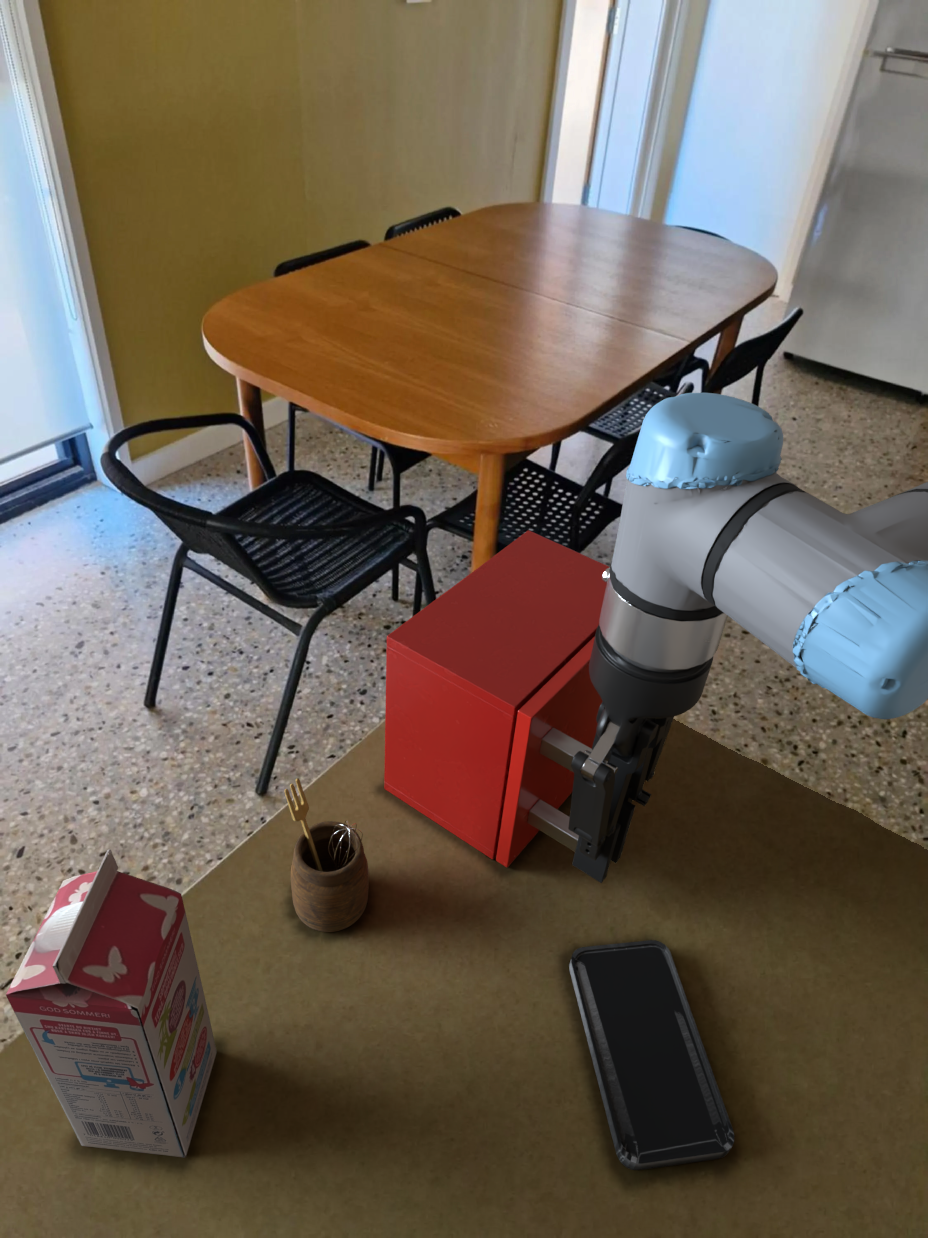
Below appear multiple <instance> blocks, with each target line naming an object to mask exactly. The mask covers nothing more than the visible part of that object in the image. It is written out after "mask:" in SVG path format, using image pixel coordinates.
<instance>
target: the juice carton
mask: <svg viewBox="0 0 928 1238" xmlns="http://www.w3.org/2000/svg"><path fill="white" fill-rule="evenodd" d="M118 870H119V866H118V863H117V861H116V858H115V856H114V854H113V851H112V850H111V849H110V848H109V849H107V850H106V852H105V855H104V857H103V859H102V860H101V863H100V865H99V867H98V869H97V870H96V871H93V872H88V873H83V874H79V875H74V876H71V877H70V878H66V879H64V880H62V882H61V885H60V886H59V888H58V890H57V892H56V894H55V896H54V898H53V900H52V901H51V903H50V906H49V907H48V910H47V912H46V914H45V916H44V918H43V920H42V922H41V924H40V925H39V928H38V930H37V932H36V933H35V935H34V938H33V940H32V942H31V943H30V945H29V948H28V949H27V951H26V953H25V955H24V957H23V960H22V962H21V963H20V965H19V967H18V969H17V971H16V974H15V975H14V977H13V979H12V981H11V984H10V985H9V987H8V989H7V991H6V994H5V996H6V999H7V1000H8V1003H9V1005H10V1007H11V1009H12V1010H13V1013H14V1014H15V1017H16V1019H17V1020H18V1023H19V1024H20V1027H21V1028H22V1030H23V1032H24V1034H25V1036H26V1038H27V1040H28V1042H29V1044H30V1046H31V1048H32V1050H33V1052H34V1054H35V1057H36V1058H37V1060H38V1062H39V1065H40V1067H41V1068H42V1070H43V1072H44V1074H45V1077H46V1079H47V1080H48V1082H49V1084H50V1087H51V1088H52V1090H53V1092H54V1094H55V1096H56V1098H57V1100H58V1102H59V1104H60V1106H61V1108H62V1110H63V1112H64V1114H65V1116H66V1118H67V1120H68V1122H69V1123H70V1126H71V1129H72V1130H73V1132H74V1134H75V1136H76V1138H77V1140H78V1142H79V1143H80V1146H82V1147H89V1148H99V1149H106V1150H107V1149H108V1150H115V1151H124V1152H125V1151H126V1152H133V1153H141V1154H142V1153H143V1154H151V1155H159V1156H168V1157H169V1156H170V1157H178V1158H187V1154H188V1152H189V1148H190V1145H191V1140H192V1137H193V1134H194V1131H195V1127H196V1124H197V1121H198V1117H199V1113H200V1110H201V1107H202V1103H203V1100H204V1097H205V1093H206V1090H207V1086H208V1083H209V1080H210V1077H211V1073H212V1069H213V1066H214V1063H215V1061H216V1060H215V1059H216V1056H217V1053H218V1051H217V1047H216V1042H215V1037H214V1032H213V1028H212V1023H211V1018H210V1014H209V1009H208V1005H207V1001H206V996H205V992H204V988H203V987H204V986H203V982H202V979H201V975H200V970H199V966H198V960H197V958H196V952H195V948H194V943H193V939H192V935H191V930H190V927H189V922H188V921H189V920H188V918H187V913H186V908H185V904H184V900H183V895H182V893H181V892H180V891H178V890H174V889H172V888H170V887H167V886H164V885H161V884H158V883H155V882H152V881H149V880H146V879H143V878H139V877H137V876H133V875H132V874H131V875H130V874H128V873H124V872H122V871H118Z"/></svg>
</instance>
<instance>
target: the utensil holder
mask: <svg viewBox="0 0 928 1238" xmlns="http://www.w3.org/2000/svg"><path fill="white" fill-rule="evenodd" d="M295 784H296V787H295ZM295 784H294V783H290V784H289V788H290V791H289V789H288V788H285V789H284V791H283V792H284V796H285V799H286V801H287V806H288V808H289V811H290V815H291V819H292V820H293V822H300V824H301V826H302V830H303V831H302V833H301V834H300V835H299V836H298V838H297V840H296V842H295V845H294V849H293V858H292V862H291V866H290V886H291V887H290V888H291V897H292V898H291V899H292V904H293V908H294V911H295V913H296V915H297V917H298V918H299V920H300V921H301V922H302V923H303V924H305V926H307V927H309V928H310V929H312V930H315V931H318V932H322V933H333V932H340V931H342V930H345V929H347V928H349V927H350V926H352V925H354V924H355V923H356V922H357V921H358V920H359V919H360V918H361V916H362V915H363V913H364V912H365V910H366V907H367V903H368V900H369V879H370V878H369V863H368V859H367V856H366V853H365V849H364V845H363V841H362V840H363V835H364V834H363V832H362V830H360V829H358V828H357V827H358V824H357V823H356V822H355V823H353V824H351V825H349V821H347V820H345V821H344V823H343V822H339V821H333V820H331V821H329V820H328V821H320V822H317V823H315V824H313V825H311V826H309V825H308V821H307V818H306V817H307V814H308V813H309V812H308V811H309V810H310V807H309V806H310V805H309V803H308V801H307V798H306V795H305V792H304V789H303V786H302V783H301V780H300V778H298V777H297V778H296V779H295ZM296 788H297V790H296ZM297 791H298V793H297ZM290 792H291V794H292V797H291V794H290ZM298 795H299V796H298ZM292 798H293V800H292ZM293 801H294V803H293ZM346 823H347V824H346ZM354 825H355V827H353V826H354ZM357 831H359V832H360V833H361V836H360V835H359V833H358V832H357Z"/></svg>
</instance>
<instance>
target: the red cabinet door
mask: <svg viewBox="0 0 928 1238" xmlns="http://www.w3.org/2000/svg"><path fill="white" fill-rule="evenodd" d="M594 639H595V636H594V637H593V638H592V639H591V640H590V641H589V642H588V643H587V644H586V645H585V646H584V647H583V648H582V649H581V650H580V651H579V652H578V653H577V654H576V655H575V656H574V657H573V658H572V659H571V660H570V661H569V662H568V663H567V664H566V665H565V666H563V667H562V668H561V669H560V670H559V671H558V672H557V673H556V674H555V675H554V676H553V677H552V678H551V679H550V680H549V681H548V682H547V683H546V684H545V685H544V686H543V687H542V688H541V689H540V690H539V691H538V692H537V693H536V694H535V695H534V696H533V697H532V698H531V699H530V700H529V701H528V702H527V703H526V704H525V705H524V706H522V707H521V708H520V709H519V710H518V715H517V721H516V728H515V735H514V742H513V748H512V755H511V762H510V769H509V775H508V782H507V789H506V796H505V802H504V809H503V816H502V823H501V829H500V836H499V843H498V850H497V856H496V857H495V861H496V862H497V863H499V864H500V865H502V866H503V867H504V868H506V869H508V868H509V866H510V865H511V864H512V863H513V862H514V861H515V860H516V859H517V857H518V856H519V855H520V854H521V853H522V851H523V850H524V849H525V848H526V847H527V845H529V843H530V842H531V841H532V840H533V839H534V838H535V836H536V835H537V834H538V833H539V832H542V833H543V834H545V835H546V836H549V837H550V838H552V839H553V840H555V841H556V842H558V843H560V844H561V845H563V846H564V847H566V848H568V849H569V850H571V851H572V852H574V853H575V850H576V846H577V842H578V838H579V835H577V834H575V833H574V832H572V831H570V830H569V829H568V827H569V818H570V815H567V814H566V813H564V812H562V811H560V810H559V808H560V807H561V806H562V805H563V804H564V802H565V801H566V800H567V799H568V798H569V797H570V795H572V791H573V782H574V772H573V770H572V767H571V764H572V759H573V757H574V755H575V754H576V753H577V752H578V751H582V752H583V753H584V751H585V750H588V751H590V752H592V746H593V742H594V738H595V735H596V728H597V721H596V718H597V714H598V710H599V707H600V705H601V703H602V702H603V701H602V699H601V697H600V695H599V694H598V692H597V691H596V689H595V687H594V686H593V684H592V682H591V679H590V675H589V663H590V658H591V653H592V648H593V644H594Z"/></svg>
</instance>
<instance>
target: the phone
mask: <svg viewBox="0 0 928 1238" xmlns="http://www.w3.org/2000/svg"><path fill="white" fill-rule="evenodd" d="M568 967H569V974H570V977H571V982H572V986H573V989H574V994H575V997H576V1001H577V1006H578V1009H579V1013H580V1016H581V1021H582V1025H583V1029H584V1032H585V1036H586V1041H587V1045H588V1049H589V1053H590V1056H591V1061H592V1065H593V1068H594V1072H595V1075H596V1080H597V1084H598V1087H599V1090H600V1095H601V1100H602V1103H603V1107H604V1110H605V1115H606V1120H607V1123H608V1127H609V1131H610V1134H611V1139H612V1143H613V1146H614V1150H615V1154H616V1156H617V1160H619V1162H620V1163H621V1164H622V1165H623V1166H624V1167H625V1168H627V1169H629V1170H632V1171H643V1170H650V1169H657V1168H663V1167H664V1168H665V1167H671V1166H677V1165H678V1166H679V1165H686V1164H693V1163H699V1162H706V1161H713V1160H719V1159H722V1158H725V1156H727V1155H728V1154H729V1152H730V1150H731V1149H732V1147H733V1145H734V1143H735V1137H736V1136H735V1133H734V1131H735V1130H734V1128H733V1126H732V1123H731V1120H730V1117H729V1114H728V1111H727V1108H726V1106H725V1103H724V1100H723V1097H722V1094H721V1091H720V1089H719V1086H718V1082H717V1080H716V1078H715V1075H714V1072H713V1069H712V1066H711V1063H710V1060H709V1058H708V1055H707V1051H706V1049H705V1047H704V1044H703V1041H702V1038H701V1035H700V1031H699V1029H698V1027H697V1026H698V1025H697V1024H696V1021H695V1017H694V1015H693V1012H692V1009H691V1007H690V1004H689V1001H688V997H687V996H686V993H685V990H684V987H683V984H682V982H681V978H680V976H679V973H678V969H677V967H676V964H675V961H674V958H673V956H672V953H671V951H670V949H669V947H668V946H667V945H666V944H665V943H663V942H662V941H659V940H656V939H650V940H649V939H648V940H647V939H646V940H639V941H629V942H620V943H619V942H618V943H610V944H609V943H608V944H597V945H590V946H589V945H587V946H582V947H578V948H577V949H575V950H574V951H573V953H571V958H570V962H569V964H568Z"/></svg>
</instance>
